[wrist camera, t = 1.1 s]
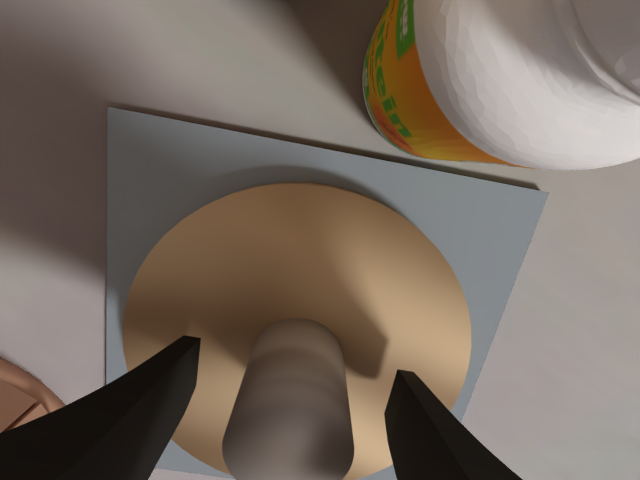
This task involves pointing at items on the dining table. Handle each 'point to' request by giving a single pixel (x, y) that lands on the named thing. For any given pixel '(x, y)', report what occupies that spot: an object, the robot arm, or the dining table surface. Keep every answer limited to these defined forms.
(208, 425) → the lid
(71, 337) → the dining table surface
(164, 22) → the dining table surface
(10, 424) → the bowl
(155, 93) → the dining table surface
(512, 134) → the supplement bottle
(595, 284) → the dining table surface
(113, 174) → the mat
